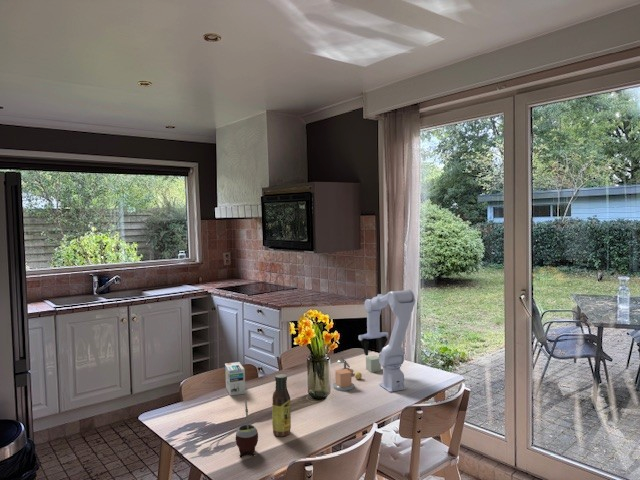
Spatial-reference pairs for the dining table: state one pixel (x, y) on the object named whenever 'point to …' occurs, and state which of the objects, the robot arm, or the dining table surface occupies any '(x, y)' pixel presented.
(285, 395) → the sauce bottle
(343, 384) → the peach matte cube
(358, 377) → the ball
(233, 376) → the light bulb box
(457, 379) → the dining table surface
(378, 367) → the sage green cube
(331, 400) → the dining table surface
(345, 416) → the dining table surface
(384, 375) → the robot arm
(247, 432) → the mate gourd
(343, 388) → the saucer
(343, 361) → the balance
